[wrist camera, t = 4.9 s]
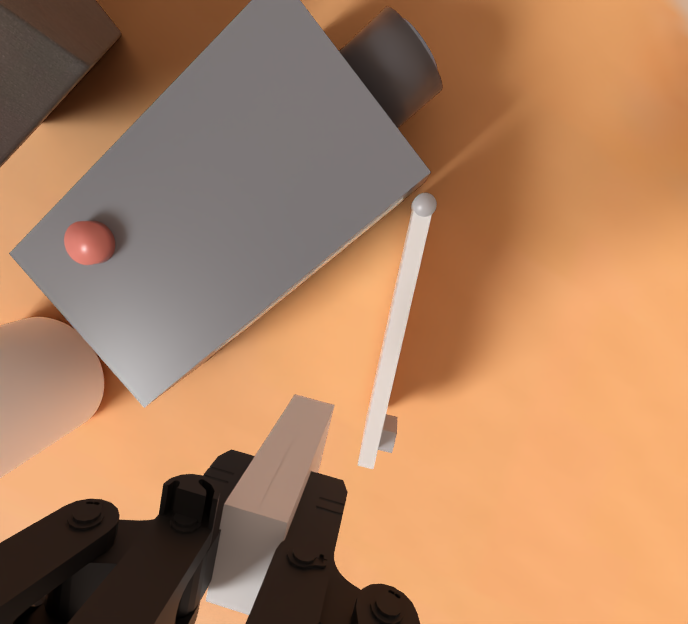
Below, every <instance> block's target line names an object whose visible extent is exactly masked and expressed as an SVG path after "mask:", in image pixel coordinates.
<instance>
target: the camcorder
mask: <svg viewBox="0 0 688 624" xmlns="http://www.w3.org/2000/svg"><path fill="white" fill-rule="evenodd" d="M441 90H442V81H441V78H440V75H439V73H438V70H437V65H436V62H435V59H434V57H433V55H432V53H431V51H430V49H429V48H428V46H427V44H426V43H425V41H424V40H423V38H422V37H421V35H420V34H419V33H418V31H417V30H416V29H415V28H414V27H413V26H412V25H411V24H410V23H409V22H408V21H407V20H406V19H404V18H402V17H401V16H400V15H399V14H398V13H397V12H396V11H395V10H394V9H392V8H390V7H385V8H384V9H383V10H382V11H381V12H380V13H379V14H378V15H377V16H376V17H375V18H374V19H373V20H372V21H371V22H369V23H368V24H367V25H366V26H365V27H364V28H363V29H362V30H361V31H360V32H359V33H358V34H357V35H356V36H355V37H354V38H353V39H352V40H351V41H349V42H348V43H347V44H346V45H345V46H344V47H343V48H342V49H341V50H340V51H338V50H337V48H336V47H335V46H334V44H333V43H332V42H331V40H330V39H329V38H328V36H327V35H326V34H325V32H324V31H323V30H322V29H321V27H320V26H319V25H318V23H317V22H316V21H315V19H314V18H313V17H312V15H311V14H310V13H309V11H308V10H307V9H306V8H305V6H304V5H303V4H302V2H301V1H300V0H251V1H250V3H249V4H248V5H247V6H246V7H245V8H244V9H243V10H242V11H241V12H240V13H239V14H238V15H237V16H236V17H235V18H234V19H233V20H232V21H231V22H230V23H229V24H228V25H227V27H226V28H225V29H224V30H223V31H222V32H221V33H220V34H219V35H218V36H217V37H216V38H215V39H214V40H213V41H212V42H211V43H210V44H209V45H208V46H207V47H206V48H205V50H204V51H203V52H202V53H201V54H200V55H199V56H198V57H197V58H196V59H195V60H194V61H193V62H192V63H191V64H190V65H189V66H188V67H187V68H186V69H185V70H184V71H183V72H182V74H181V75H180V76H179V77H178V78H177V79H176V80H175V81H174V82H173V83H172V84H171V85H170V86H169V87H168V88H167V89H166V90H165V91H164V92H163V93H162V94H161V95H160V96H159V98H158V99H157V100H156V101H155V102H154V103H153V104H152V105H151V106H150V107H149V108H148V109H147V110H146V111H145V112H144V113H143V114H142V115H141V116H140V117H139V118H138V119H137V121H136V122H135V123H134V124H133V125H132V126H131V127H130V128H129V129H128V130H127V131H126V132H125V133H124V134H123V135H122V136H121V137H120V138H119V139H118V140H117V141H116V142H115V143H114V145H113V146H112V147H111V148H110V149H109V150H108V151H107V152H106V153H105V154H104V155H103V156H102V157H101V158H100V159H99V160H98V161H97V162H96V163H95V164H94V165H93V166H92V168H91V169H90V170H89V171H88V172H87V173H86V174H85V175H84V176H83V177H82V178H81V179H80V180H79V181H78V182H77V183H76V184H75V185H74V186H73V187H72V188H71V189H70V190H69V192H68V193H67V194H66V195H65V196H64V197H63V198H62V199H61V200H60V201H59V202H58V203H57V204H56V205H55V206H54V207H53V208H52V209H51V210H50V211H49V212H48V213H47V214H46V216H45V217H44V218H43V219H42V220H41V221H40V222H39V223H38V224H37V225H36V226H35V227H34V228H33V229H32V230H31V231H30V232H29V233H28V234H27V235H26V236H25V237H24V239H23V240H22V241H21V242H20V243H19V244H18V245H17V246H16V247H15V248H14V249H13V250H12V251H11V252H10V253H9V254H10V255H11V256H12V258H13V259H14V260H15V261H16V262H17V263H18V264H19V266H20V267H21V268H22V269H23V270H24V271H25V272H26V274H27V275H28V276H29V277H30V278H31V279H32V280H33V282H34V283H35V284H36V285H37V286H38V287H39V288H40V290H41V291H42V292H43V293H44V294H45V295H46V296H47V297H48V299H49V300H50V301H51V302H52V303H53V304H54V305H55V307H56V308H57V309H58V310H59V311H60V312H61V313H62V315H63V316H64V317H65V318H66V319H67V320H68V321H69V323H70V324H71V325H72V326H73V327H74V328H75V329H76V331H77V332H78V333H79V334H80V335H81V336H82V337H83V339H84V340H85V341H86V342H87V343H88V344H89V345H90V347H91V348H92V349H93V350H94V351H95V352H96V353H97V354H98V356H99V357H100V358H101V359H102V360H103V361H104V362H105V364H106V365H107V366H108V367H109V368H110V369H111V370H112V372H113V373H114V374H115V375H116V376H117V377H118V378H119V380H120V381H121V382H122V383H123V384H124V385H125V386H126V388H127V389H128V390H129V391H130V392H131V393H132V394H133V396H134V397H135V398H136V399H137V400H138V401H139V402H140V404H141V405H142V406H143V407H146V406H147V405H148V404H150V403H151V402H152V401H154V400H155V399H156V398H158V397H159V396H160V395H162V394H163V393H164V392H166V391H167V390H168V389H170V388H171V387H172V386H174V385H175V384H176V383H178V382H179V381H180V380H182V379H183V378H184V377H186V376H187V375H188V374H190V373H191V372H192V371H194V370H195V369H196V368H198V367H199V366H201V365H202V364H203V363H204V362H206V361H207V360H208V359H209V358H210V357H212V356H213V355H214V354H215V353H217V352H218V351H219V350H220V349H221V348H223V347H224V346H225V345H226V344H228V343H229V342H230V341H231V340H233V339H234V338H235V337H236V336H237V335H239V334H240V333H241V332H243V331H244V330H245V329H247V328H248V327H249V326H251V325H252V324H253V323H254V322H255V321H257V320H258V319H259V318H260V317H262V316H263V315H264V314H265V313H266V312H268V311H269V310H270V309H271V308H273V307H274V306H275V305H276V304H277V303H279V302H280V301H281V300H282V299H284V298H285V297H286V296H287V295H288V294H290V293H291V292H292V291H293V290H295V289H296V288H297V287H298V286H299V285H301V284H302V283H303V282H304V281H306V280H307V279H308V278H309V277H310V276H312V275H313V274H314V273H315V272H317V271H318V270H319V269H320V268H322V267H323V266H324V265H325V264H326V263H328V262H329V261H330V260H331V259H333V258H334V257H335V256H336V255H337V254H339V253H340V252H341V251H342V250H344V249H345V248H346V247H347V246H348V245H350V244H351V243H352V242H353V241H355V240H356V239H357V238H358V237H359V236H361V235H362V234H363V233H364V232H366V231H367V230H368V229H369V228H370V227H372V226H373V225H374V224H375V223H377V222H378V221H379V220H380V219H381V218H383V217H384V216H385V215H386V214H388V213H389V212H390V211H391V210H392V209H394V208H395V207H396V206H397V205H399V204H400V203H401V202H402V201H404V199H405V198H406V197H407V196H409V195H410V194H411V193H412V192H414V191H415V190H416V189H417V188H418V187H420V186H421V185H422V184H423V183H424V182H425V181H426V179H427V178H428V176H429V175H430V173H431V172H430V170H429V169H428V168H427V166H426V165H425V164H424V162H423V161H422V160H421V158H420V157H419V156H418V154H417V153H416V152H415V151H414V149H413V148H412V147H411V145H410V144H409V143H408V141H407V140H406V139H405V137H404V136H403V135H402V133H401V132H400V131H399V130H398V127H400V126H401V125H402V124H403V123H404V122H405V121H406V120H408V119H409V118H410V117H411V116H412V115H413V114H415V113H416V112H417V111H418V110H419V109H420V108H421V107H423V106H424V105H425V104H426V103H427V102H428V101H430V100H431V99H432V98H433V97H434V96H435V95H437V94H438V93H439V92H440V91H441Z"/></svg>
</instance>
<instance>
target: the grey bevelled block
mask: <svg viewBox="0 0 688 624" xmlns="http://www.w3.org/2000/svg"><path fill="white" fill-rule="evenodd" d="M120 36H121V32H120V30H119V29H118V28H117V27H116V25H115V24H114V23H113V22H112V20H111V19H110V18H109V17H108V15H107V14H106V13H105V12H104V10H103V9H102V8H101V7H100V5H99V4H98V3H97V1H96V0H0V167H1V166H2V165H3V164H4V163H5V162H6V161H7V160H8V159H9V158H10V156H11V155H12V154H13V153H14V152H15V151H16V150H17V149H18V148H19V147H20V146H21V145H22V144H23V143H24V142H25V140H26V139H27V138H28V137H29V136H30V135H31V134H32V133H33V132H34V131H35V130H36V129H37V128H38V127H39V125H40V124H41V123H42V122H43V121H44V120H45V119H46V118H47V117H48V116H49V114H50V113H51V112H52V111H53V110H54V109H55V108H56V107H57V106H58V105H59V103H60V102H61V101H62V100H63V99H64V98H65V97H66V96H67V95H68V93H69V92H70V91H71V90H72V89H73V88H74V87H75V86H76V85H77V84H78V82H79V81H80V80H81V79H82V78H83V77H84V76H85V75H86V74H87V73H88V71H89V70H90V69H91V68H92V67H93V66H94V65H95V64H96V63H97V62H98V60H99V59H100V58H101V57H102V56H103V55H104V54H105V53H106V52H107V51H108V49H109V48H110V47H111V46H112V45H113V44H114V43H115V42H116V41H117V40H118V38H119V37H120Z"/></svg>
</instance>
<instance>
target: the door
mask: <svg viewBox="0 0 688 624" xmlns="http://www.w3.org/2000/svg"><path fill="white" fill-rule="evenodd" d="M436 206H437V203H436V199H435V198H434V196H433V195H431V194H429V193H421V194H419V195H418V196H417V197H416V198H415V199H414V200H413V202H412V204H411V211H412V212H411V216H410V221H409V225H408V230H407V234H406V239H405V244H404V248H403V253H402V257H401V262H400V266H399V271H398V275H397V280H396V285H395V289H394V294H393V298H392V303H391V307H390V312H389V317H388V321H387V326H386V330H385V335H384V339H383V344H382V348H381V353H380V358H379V362H378V367H377V371H376V376H375V380H374V385H373V390H372V394H371V399H370V403H369V408H368V412H367V417H366V423H365V428H364V434H363V439H362V444H361V450H360V455H359V461H358V466H362V467H366V468H370V469H373V468H374V464H375V460H376V455H377V451H378V450H381V451H386V452H390V453H392V451H393V447H394V443H395V438H396V434H397V417H395V416H391V415H387V414H386V412H387V407H388V403H389V399H390V394H391V390H392V385H393V381H394V377H395V372H396V368H397V364H398V359H399V355H400V351H401V346H402V342H403V338H404V333H405V329H406V325H407V320H408V316H409V311H410V307H411V303H412V298H413V294H414V290H415V285H416V281H417V277H418V272H419V268H420V264H421V259H422V255H423V251H424V246H425V242H426V237H427V233H428V229H429V224H430V220H431V216H432V214H433V213H434V211H435V209H436Z"/></svg>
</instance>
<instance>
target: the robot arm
mask: <svg viewBox="0 0 688 624" xmlns="http://www.w3.org/2000/svg"><path fill="white" fill-rule="evenodd" d="M333 409H334V405H332V404H328V403H325V402H321V401H317V400H314V399H310V398H306V397H303V396H299V395H296V394H295V395H294V396H293V398H292V399H291V401H290V402H289V404H288V406H287V407H286V409H285V410H284V412H283V413H282V415H281V416H280V418H279V420H278V421H277V423H276V424H275V426H274V427H273V429H272V430H271V432H270V434H269V435H268V437H267V438H266V440H265V441H264V443H263V444H262V446H261V447H260V449H259V451H258V452H257V454H256V455H255V456H252V455H249V454H245V453H242V452H238V451H235V450H230V451H228V452H226V453H224V454H222V455H220V456H218V457H217V458H216V460H215V461H214V462H213V463H212V465H211V466H210V468H208V470H207V471H206V472H205V474H204V476H202V475H195V474H186V475H179V476H176V477H173V478H171V479H169V480H168V481H166V482H165V483H164V484H163V490H162V497H161V504H160V510H159V515H158V516H157V517H156V518H155V519H153V520H143V521H136V520H119V512H118V508H116V507H115V506H114V505H113V504H112V503H110V502H107V501H105V500H102V499H85V500H79V501H75V502H73V503H71V504H68V505H66V506H64V507H62V508H60V509H59V510H57V511H55V512H53V513H52V514H50V515H48V516H46V517H45V518H43V519H41V520H39V521H38V522H36V523H34V524H32V525H31V526H29V527H27V528H25V529H24V530H22V531H20V532H18V533H17V534H15V535H13V536H11V537H10V538H8V539H6V540H4V541H3V542H1V543H0V624H194V623H195V621H196V618H197V614H198V610H199V605H200V600H201V599H202V597H203V595H204V593H205V591H206V589H207V588H208V592H207V597H206V601H207V602H210V603H213V604H216V605H219V606H222V607H226V608H229V609H232V610H235V611H238V612H241V613H244V614H247V615H249V617H248V619H247V622H246V624H420V621H419V618H418V614H417V612H416V610H415V607H414V605H413V603H412V602H411V601H410V600H409V599H408V598H407V596H406V595H405V594H404V593H402V592H401V591H399V590H397V589H396V588H394V587H392V586H388V585H384V584H371V585H369V586H367V587H365V588H363V589H362V590H360V589H359V588H357V587H356V586H354V585H352V584H351V583H350V582H348V581H347V580H346V579H345V578H344V577H343V576H342V575H341V574H340V572H339V571H338V569H337V567H336V565H335V561H334V551H335V546H336V542H337V537H338V533H339V528H340V524H341V519H342V515H343V510H344V506H345V501H346V497H347V490H346V487H345V484H344V482H343V480H340V479H337V478H333V477H330V476H326V475H323V474H319V473H318V471H319V467H320V463H321V459H322V455H323V450H324V446H325V442H326V438H327V434H328V429H329V425H330V421H331V417H332V413H333ZM208 586H209V587H208Z"/></svg>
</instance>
